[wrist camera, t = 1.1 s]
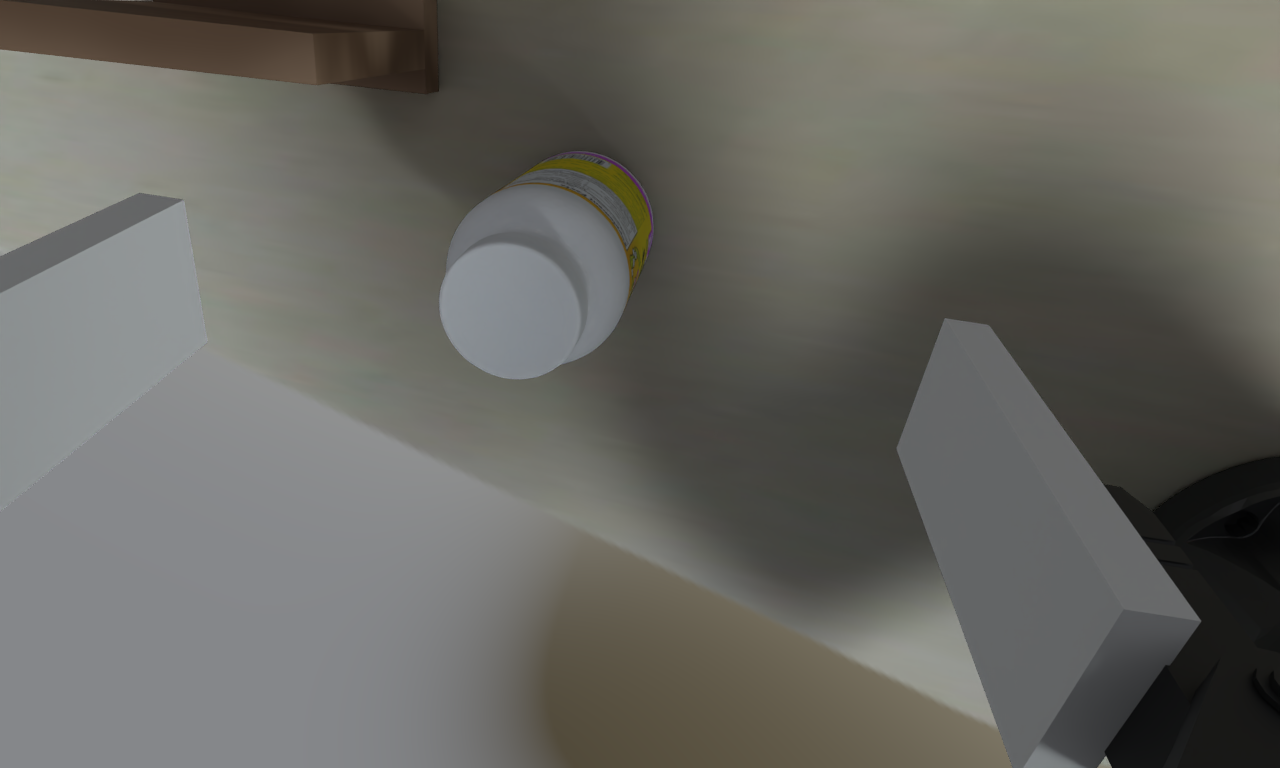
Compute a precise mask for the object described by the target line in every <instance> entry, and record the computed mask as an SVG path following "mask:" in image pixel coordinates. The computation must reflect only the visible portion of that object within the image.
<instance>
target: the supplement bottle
mask: <svg viewBox="0 0 1280 768" xmlns="http://www.w3.org/2000/svg"><path fill="white" fill-rule="evenodd" d="M653 233H654V221H653V213H652V208H651V205H650V202H649V199H648V197H647V194H646V192H645V191H644V189H643V187H642V185H641V184H640V183H639V181H638V180H637V179H636V178H635V176H634V175H633V174H632V173H631V172H629V171H628V170H627V169H626V168H625V167H624V166H622V165H621V164H620V163H618V162H617V161H615V160H613V159H611V158H609V157H607V156H604V155H601V154H598V153H594V152H588V151H571V152H565V153H561V154H557V155H555V156H552V157H550V158H548V159H546V160H544V161H542V162H541V163H539V164H537V165H536V166H534V167H533V168H531V169H530V170H528V171H527V172H525V173H524V174H522V175H521V176H519V177H518V178H516V179H515V180H513V181H512V182H510V183H509V184H507V185H506V186H504V187H503V188H501V189H500V190H498V191H496V192H495V193H493V194H492V195H490V196H489V197H488V198H486V199H485V200H483V201H482V202H480V203H479V204H478V205H476V206H475V207H474V208H473V209H472V210H471V211H470V212H469V213H468V214H467V215H466V216H465V218H464V219H463V220H462V222H461V223H460V224H459V226H458V228H457V230H456V231H455V233H454V236H453V238H452V240H451V243H450V247H449V250H448V256H447V262H446V275H445V277H444V279H443V282H442V285H441V289H440V294H439V312H440V317H441V321H442V324H443V327H444V329H445V332H446V334H447V336H448V338H449V340H450V341H451V343H452V344H453V346H454V347H455V348H456V350H457V351H458V352H459V353H460V354H461V355H462V356H463V357H464V358H465V359H466V360H468V361H469V362H470V363H471V364H473V365H474V366H476V367H478V368H479V369H481V370H483V371H485V372H487V373H489V374H492V375H495V376H498V377H502V378H507V379H530V378H534V377H538V376H541V375H544V374H546V373H548V372H550V371H552V370H554V369H555V368H556V367H558V366H559V365H560V364H565V363H568V362H572V361H574V360H577V359H579V358H581V357H583V356H585V355H587V354H589V353H590V352H592V351H593V350H595V349H596V348H597V347H598V346H600V345H601V344H602V343H603V342H604V341H605V340H606V339H607V338H608V336H609V335H610V334H611V333H612V332H613V330H614V329H615V327H616V325H617V324H618V322H619V320H620V318H621V316H622V314H623V312H624V309H625V307H626V305H627V302H628V300H629V298H630V295H631V293H632V291H633V289H634V287H635V284H636V282H637V280H638V278H639V276H640V273H641V271H642V269H643V266H644V264H645V262H646V259H647V257H648V254H649V251H650V248H651V245H652V240H653Z"/></svg>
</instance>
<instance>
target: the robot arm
mask: <svg viewBox="0 0 1280 768" xmlns="http://www.w3.org/2000/svg"><path fill="white" fill-rule="evenodd" d="M207 342H208V341H207V335H206V329H205V323H204V317H203V311H202V305H201V299H200V293H199V287H198V281H197V275H196V269H195V263H194V257H193V251H192V245H191V239H190V233H189V227H188V221H187V215H186V209H185V203H184V200H182V199H176V198H169V197H163V196H156V195H150V194H144V193H138V194H136V195H134V196H132V197H129V198H127V199H125V200H123V201H121V202H118V203H116V204H114V205H112V206H110V207H107V208H105V209H103V210H101V211H99V212H96V213H94V214H92V215H90V216H88V217H86V218H83V219H81V220H79V221H77V222H75V223H72V224H70V225H68V226H66V227H64V228H61V229H59V230H57V231H55V232H53V233H51V234H48V235H46V236H44V237H42V238H40V239H37V240H35V241H33V242H31V243H29V244H26V245H24V246H22V247H20V248H18V249H16V250H13V251H11V252H9V253H7V254H5V255H2V256H0V512H1V511H2V510H3V509H4V508H5V507H6V506H8V505H9V504H10V503H12V502H13V501H14V500H15V499H17V498H18V497H19V496H20V495H21V494H23V493H24V492H25V491H26V490H28V489H29V488H30V487H31V486H32V485H34V484H35V483H36V482H37V481H39V480H40V479H41V478H42V477H43V476H45V475H46V474H47V473H48V472H50V471H51V470H52V469H53V468H54V467H56V466H57V465H58V464H59V463H61V462H62V461H63V460H64V459H65V458H66V457H68V456H69V455H70V454H72V453H73V452H74V451H75V450H76V449H78V448H79V447H80V446H81V445H83V444H84V443H85V442H86V441H87V440H89V439H90V438H91V437H92V436H94V435H95V434H96V433H97V432H98V431H100V430H101V429H102V428H103V427H105V426H106V425H107V424H108V423H109V422H111V421H112V420H113V419H114V418H116V417H117V416H118V415H119V414H121V413H122V412H123V411H124V410H125V409H126V408H128V407H129V406H130V405H131V404H133V403H134V402H135V401H136V400H137V399H139V398H140V397H141V396H143V395H144V394H145V393H146V392H147V391H148V390H150V389H151V388H152V387H154V386H155V385H156V384H157V383H158V382H160V381H161V380H162V379H163V378H165V376H167V375H168V374H169V373H171V372H172V371H173V370H174V369H175V368H177V367H178V366H179V365H180V364H182V363H183V362H184V361H185V360H186V359H188V358H189V357H190V356H191V355H193V354H194V353H195V352H196V351H198V350H199V349H200V348H201V347H202V346H204V345H205V344H206V343H207ZM896 450H897V452H898V455H899V458H900V460H901V463H902V466H903V469H904V471H905V474H906V477H907V480H908V482H909V485H910V488H911V491H912V493H913V496H914V499H915V502H916V504H917V507H918V510H919V513H920V515H921V518H922V521H923V523H924V526H925V529H926V532H927V534H928V537H929V540H930V543H931V545H932V548H933V551H934V554H935V556H936V559H937V562H938V565H939V567H940V570H941V573H942V576H943V578H944V581H945V584H946V587H947V589H948V592H949V595H950V597H951V600H952V603H953V606H954V608H955V611H956V614H957V617H958V619H959V622H960V625H961V628H962V630H963V633H964V636H965V639H966V641H967V644H968V647H969V650H970V652H971V655H972V658H973V661H974V663H975V666H976V669H977V671H978V674H979V677H980V680H981V682H982V685H983V688H984V691H985V693H986V696H987V699H988V702H989V704H990V707H991V710H992V713H993V715H994V718H995V721H996V724H997V726H998V729H999V732H1000V734H1001V737H1002V740H1003V743H1004V745H1005V748H1006V751H1007V753H1008V756H1009V759H1010V762H1011V764H1012V767H1013V768H1097V767H1098V766H1099V764H1100V763H1101V762H1102V760H1103V759H1104V757H1105V756H1107V758H1108V760H1109V762H1110V764H1111V766H1112V768H1280V457H1276V458H1270V459H1265V460H1260V461H1255V462H1251V463H1247V464H1244V465H1240V466H1237V467H1234V468H1231V469H1228V470H1225V471H1222V472H1220V473H1218V474H1215V475H1213V476H1210V477H1208V478H1206V479H1204V480H1202V481H1200V482H1198V483H1196V484H1194V485H1192V486H1190V487H1188V488H1187V489H1185V490H1183V491H1182V492H1180V493H1178V494H1177V495H1175V496H1174V497H1172V498H1171V499H1170V500H1168V501H1167V502H1165V503H1164V504H1163V505H1162V506H1160V507H1159V508H1158V509H1157V510H1155V511H1154V512H1152V511H1150V510H1149V509H1148V508H1147V507H1145V506H1144V505H1143V504H1142V503H1140V502H1139V501H1138V500H1137V499H1135V498H1134V497H1133V496H1131V495H1130V494H1129V493H1128V492H1126V491H1125V490H1124V489H1123V488H1121V487H1117V486H1110V485H1104V484H1103V483H1102V482H1101V481H1100V479H1099V478H1098V476H1097V475H1096V474H1095V472H1094V471H1093V469H1092V468H1091V467H1090V465H1089V464H1088V462H1087V461H1086V460H1085V458H1084V457H1083V455H1082V454H1081V453H1080V451H1079V450H1078V448H1077V447H1076V446H1075V444H1074V443H1073V441H1072V440H1071V439H1070V437H1069V436H1068V435H1067V433H1066V432H1065V430H1064V429H1063V428H1062V426H1061V425H1060V423H1059V422H1058V421H1057V419H1056V418H1055V416H1054V415H1053V414H1052V412H1051V411H1050V409H1049V408H1048V407H1047V405H1046V404H1045V402H1044V401H1043V400H1042V398H1041V397H1040V395H1039V394H1038V393H1037V391H1036V390H1035V388H1034V387H1033V386H1032V384H1031V383H1030V381H1029V380H1028V379H1027V377H1026V376H1025V375H1024V373H1023V372H1022V370H1021V369H1020V368H1019V366H1018V365H1017V363H1016V362H1015V361H1014V359H1013V358H1012V356H1011V355H1010V354H1009V352H1008V351H1007V349H1006V348H1005V347H1004V345H1003V344H1002V342H1001V341H1000V340H999V338H998V337H997V335H996V334H995V333H994V331H993V330H992V328H991V327H990V326H989V325H986V324H980V323H973V322H967V321H960V320H954V319H947V318H945V319H944V321H943V324H942V327H941V329H940V332H939V335H938V338H937V340H936V343H935V346H934V348H933V351H932V354H931V356H930V359H929V362H928V365H927V367H926V370H925V373H924V375H923V378H922V381H921V384H920V386H919V389H918V392H917V394H916V397H915V400H914V402H913V405H912V408H911V411H910V413H909V416H908V419H907V421H906V424H905V427H904V429H903V432H902V435H901V438H900V440H899V443H898V446H897V448H896Z"/></svg>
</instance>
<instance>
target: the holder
mask: <svg viewBox="0 0 1280 768" xmlns="http://www.w3.org/2000/svg"><path fill="white" fill-rule="evenodd" d="M0 49H2V50H11V51H20V52H29V53H38V54H47V55H55V56H64V57H73V58H82V59H91V60H99V61H108V62H117V63H126V64H135V65H144V66H152V67H161V68H170V69H179V70H188V71H197V72H205V73H214V74H223V75H232V76H241V77H249V78H258V79H267V80H276V81H285V82H294V83H302V84H311V85H321V84H328V83H331V84H340V85H349V86H358V87H367V88H376V89H384V90H393V91H402V92H411V93H420V94H429V93H433V92H438V91H439V80H438V31H437V0H153V2H151V1H118V0H0Z"/></svg>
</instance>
